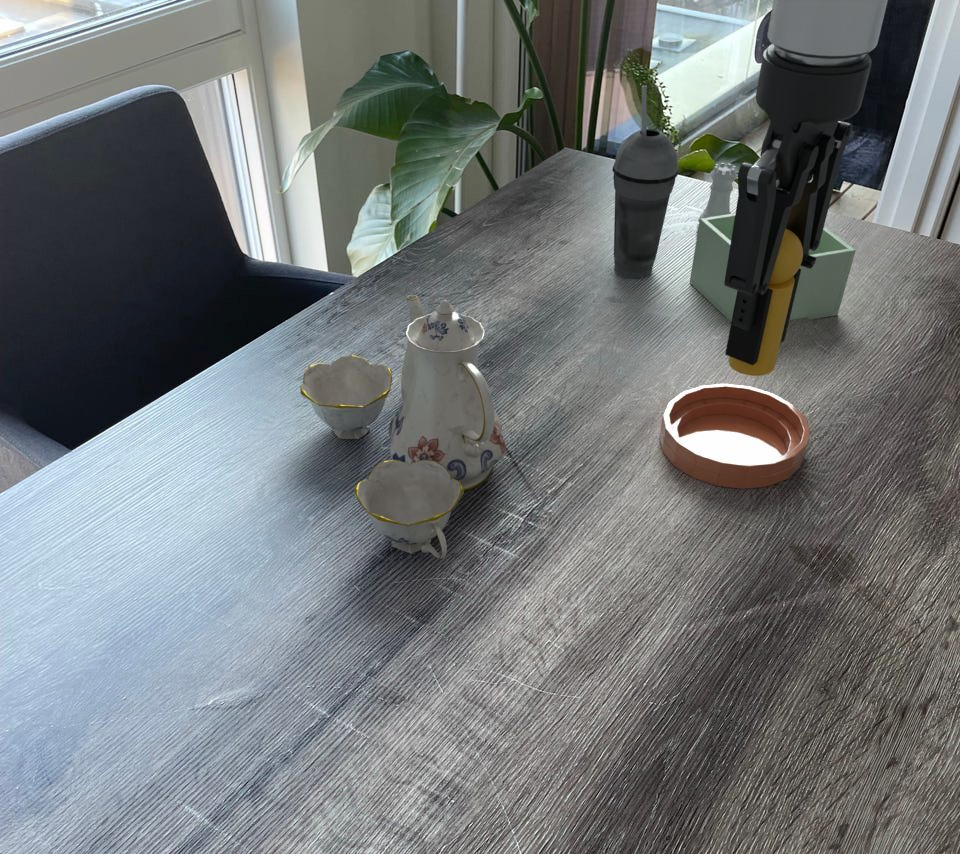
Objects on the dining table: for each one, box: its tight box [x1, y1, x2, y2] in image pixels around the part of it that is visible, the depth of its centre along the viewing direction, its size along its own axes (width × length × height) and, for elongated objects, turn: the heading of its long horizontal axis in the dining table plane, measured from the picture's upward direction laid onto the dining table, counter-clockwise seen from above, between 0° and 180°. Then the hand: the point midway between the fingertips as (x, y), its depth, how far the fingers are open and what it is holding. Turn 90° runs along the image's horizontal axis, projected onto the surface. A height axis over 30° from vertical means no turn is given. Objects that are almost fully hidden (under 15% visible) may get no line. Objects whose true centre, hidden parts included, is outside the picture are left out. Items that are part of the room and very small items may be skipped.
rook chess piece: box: [696, 162, 738, 231], centre depth 127 cm, size 4×4×8 cm
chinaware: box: [299, 294, 507, 560], centre depth 89 cm, size 28×17×17 cm, turn 27°
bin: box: [689, 212, 856, 323], centre depth 115 cm, size 12×12×8 cm
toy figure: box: [728, 229, 803, 377], centre depth 86 cm, size 4×4×12 cm
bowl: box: [659, 383, 811, 490], centre depth 96 cm, size 13×13×3 cm
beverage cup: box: [612, 84, 679, 279], centre depth 115 cm, size 7×7×20 cm
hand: (755, 346), depth 89 cm, fingers closed on toy figure, 4 cm apart
